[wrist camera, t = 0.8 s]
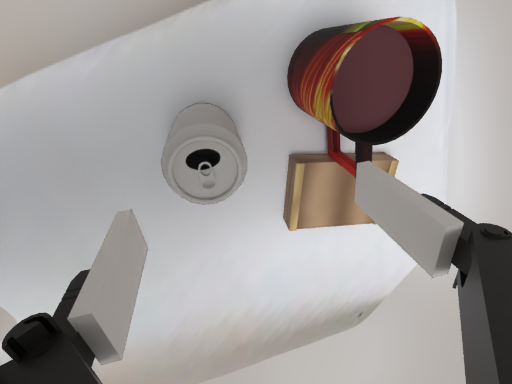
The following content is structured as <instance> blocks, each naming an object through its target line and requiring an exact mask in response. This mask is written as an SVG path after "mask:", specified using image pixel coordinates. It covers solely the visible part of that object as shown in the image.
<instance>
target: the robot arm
mask: <svg viewBox="0 0 512 384" xmlns="http://www.w3.org/2000/svg"><path fill="white" fill-rule="evenodd" d="M355 203H356V204H357V205H358V206H359V207H360V208H361V209H362V210H363V211H364V212H365V213H366V214H367V215H368V216H369V217H370V218H371V219H372V220H373V221H374V222H375V223H376V224H378V225H379V226H380V227H381V228H382V229H383V230H384V231H385V232H386V233H387V234H388V235H389V236H390V237H391V238H392V239H393V240H394V241H395V242H396V243H397V244H398V245H399V246H400V247H401V248H402V249H403V250H404V251H405V252H406V253H407V254H408V255H409V256H410V257H411V258H413V259H414V260H415V261H416V262H417V263H418V264H419V265H420V266H421V267H422V268H423V269H424V270H425V271H426V272H427V273H428V274H429V275H430V276H431V277H432V278H434V277H437V276H441V275H445V274H448V272H449V269H450V266H451V263H452V264H453V265H455V266H456V267H457V268H458V273H457V276H456V278H455V281H454V284H453V288H456V286H457V285H458V296H459V307H460V319H461V330H462V341H463V353H464V364H465V376H466V384H512V233H511V232H510V231H508V230H507V229H505V228H502V227H500V226H498V225H493V224H487V223H480V224H477V223H475V222H473V221H472V220H470V219H469V218H467V217H465V216H464V215H462V214H461V213H459V212H457V211H456V210H454V209H451V207H449V206H448V205H446V204H444V203H443V202H441V201H440V200H438V199H437V198H435V197H432V196H429V195H427V194H419V193H418V192H416V191H415V190H413V189H411V188H410V187H408V186H407V185H405V184H404V183H402V182H401V181H399V180H398V179H396V178H395V177H393V176H392V175H390V174H388V173H387V172H385V171H384V170H382V169H381V168H379V167H378V166H376V165H375V164H373V163H372V162H370V161H365V162H360V163H357V172H356V188H355ZM147 251H148V246H147V244H146V242H145V239H144V237H143V235H142V232H141V230H140V227H139V225H138V223H137V220H136V218H135V215H134V213H133V211H132V209H131V210H126V211H121V212H117V214H116V216H115V218H114V221H113V223H112V225H111V227H110V229H109V231H108V233H107V235H106V238H105V240H104V242H103V244H102V246H101V248H100V250H99V252H98V255H97V257H96V259H95V261H94V263H93V265H92V267H91V269H89V270H84V271H81V272H80V273H79V274H78V275H77V276H76V277H75V278H74V279H73V280H72V281H71V283H70V285H69V286H68V288H67V290H66V293H65V294H64V296H63V298H62V301H61V302H60V303H59V305H58V307H57V309H56V311H55V313H54V315H53V317H51V315H49V314H47V313H38V314H35V315H32V316H30V317H28V318H26V319H24V320H22V321H21V322H19V323H18V324H17V325H16V326H14V327H13V328H12V329H11V330H10V331H9V332H8V334H7V335H6V336H5V338H4V340H3V342H2V349H3V350H4V351H5V352H6V353H7V354H8V355H9V356H10V357H11V358H12V359H13V360H11V361H9V362H7V363H5V364H3V365H1V366H0V384H102V382H101V381H100V379H99V378H98V377H97V375H96V374H95V372H94V371H93V370H92V368H91V367H92V364H93V361H94V358H95V357H96V359H97V360H98V362H99V363H100V364H101V365H104V364H108V363H111V362H115V361H119V360H122V358H123V353H124V349H125V345H126V341H127V336H128V332H129V328H130V323H131V319H132V315H133V311H134V306H135V302H136V298H137V293H138V289H139V285H140V281H141V276H142V272H143V268H144V263H145V259H146V255H147Z"/></svg>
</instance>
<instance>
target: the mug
mask: <svg viewBox="0 0 512 384" xmlns="http://www.w3.org/2000/svg"><path fill="white" fill-rule="evenodd" d="M441 73H442V57H441V51H440V47H439V44H438V42H437V39H436V37H435V36H434V34H433V33H432V32H431V30H430V29H429V28H428V27H427V26H425V25H424V24H423V23H421V22H419V21H417V20H415V19H412V18H406V17H394V18H387V19H381V20H375V21H369V22H362V23H356V24H350V25H344V26H337V27H331V28H325V29H321V30H318V31H316V32H314V33H312V34H311V35H309V36H307V37H306V38H305V39H304V40H303V41H302V42H301V43H300V44H299V46H298V47H297V49H296V50H295V52H294V54H293V56H292V58H291V60H290V64H289V67H288V75H287V80H288V88H289V92H290V95H291V97H292V99H293V101H294V102H295V103H296V105H297V106H298V107H299V108H300V109H302V110H303V111H304V112H306V113H307V114H309V115H311V116H312V117H314V118H316V119H317V120H319V121H320V122H322V123H324V124H325V125H327V132H328V156H329V157H331V158H332V159H333V160H334V161H335V162H336V163H338V164H339V165H340V166H342V167H343V168H345V169H346V170H347V171H348V172H349V173H350V174H352V175H353V176H354V177H355V178H356V172H357V163H360V162H365V161H370V162H372V145H379V144H384V143H388V142H390V141H393V140H395V139H397V138H399V137H400V136H402V135H404V134H405V133H407V132H408V131H409V130H410V129H412V128H413V127H414V126H415V125H416V124H417V123H418V122H419V121H420V120H421V118H422V117H423V116H424V114H425V113H426V112H427V110H428V109H429V107H430V105H431V104H432V102H433V100H434V98H435V96H436V93H437V90H438V87H439V84H440V79H441ZM340 134H342V135H343V136H345V137H347V138H348V139H350V140H352V141H354V142H355V161H354V160H352V159H351V158H349V157H348V156H347V155H345V154H344V153H343V152H341V151H340Z"/></svg>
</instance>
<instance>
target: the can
mask: <svg viewBox="0 0 512 384" xmlns="http://www.w3.org/2000/svg"><path fill="white" fill-rule="evenodd" d="M161 164H162V171H163V175H164V177H165V179H166V181H167V183H168V184H169V186H170V187H171V188H172V189H173V190H174V191H175V192H176V193H177V194H179V195H180V196H181V197H182V198H184V199H186V200H188V201H190V202H193V203H198V204H214V203H217V202H220V201H223V200H225V199H226V198H227V197H229V196H230V195H232V194H233V193H234V192H235V191H236V190H237V188H238V187H239V186H240V185H241V183H242V182H243V180H244V177H245V174H246V171H247V156H246V153H245V150H244V147H243V144H242V142H241V140H240V137H239V135H238V133H237V130H236V128H235V126H234V123H233V121H232V120H231V118H230V117H229V116H228V114H227V113H226V112H225V111H223V110H222V109H220V108H219V107H217V106H214V105H211V104H208V103H206V104H194V105H192V106H189V107H187V108H185V109H184V110H183V111H181V112H180V113H179V114H178V116H177V118H176V119H175V121H174V123H173V125H172V128H171V131H170V133H169V136H168V139H167V141H166V144H165V147H164V150H163V155H162V159H161Z"/></svg>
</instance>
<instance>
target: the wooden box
mask: <svg viewBox="0 0 512 384" xmlns="http://www.w3.org/2000/svg"><path fill="white" fill-rule="evenodd" d="M344 154H345V155H347V156H348V157H349V158H351V159H352V160H354V161H355V153H344ZM398 162H399V161H398V160H397V159H395V158H393V157H391V156H390V155H388V154H386V153H384V152H380V153H372V163H373V164H375V165H376V166H378V167H379V168H381V169H382V170H384V171H385V172H387V173H388V174H390V175H392V176H393V177H394V175H395V172H396V169H397V165H398ZM355 188H356V178H355V177H354V176H353V175H352V174H350V173H349V172H348V171H347V170H346V169H345V168H343V167H342V166H340V165H339V164H338V163H336V162H335V161H334V160H333V159H332V158H331V157H329V156H328V154H307V155H289V165H288V175H287V185H286V195H285V206H284V216H283V218H284V221H285V223H286V225H287V227H288V229H289V231H295V230H296V229H304V228H317V227H330V226H343V225H356V224H369V223H373V224H376V223H375V222H374V221H373V220H372V219H371V218H370V217H369V216H368V215H367V214H366V213H365V212H364V211H363V210H362V209H361V208H360V207H359V206H358V205H357V204H356V203H355Z"/></svg>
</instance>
